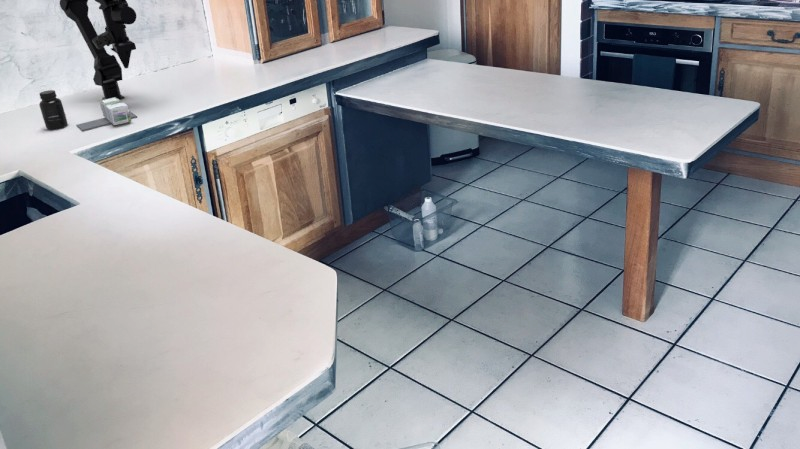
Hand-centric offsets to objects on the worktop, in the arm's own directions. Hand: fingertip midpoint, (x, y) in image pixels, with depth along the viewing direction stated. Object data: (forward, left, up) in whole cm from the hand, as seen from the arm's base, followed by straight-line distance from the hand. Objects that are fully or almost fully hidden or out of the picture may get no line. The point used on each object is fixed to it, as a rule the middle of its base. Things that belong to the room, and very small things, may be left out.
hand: (126, 68), depth 255 cm
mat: (+13, -14, -13) cm, 23 cm away
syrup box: (+8, -11, -9) cm, 17 cm away
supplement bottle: (+4, -28, -13) cm, 31 cm away
